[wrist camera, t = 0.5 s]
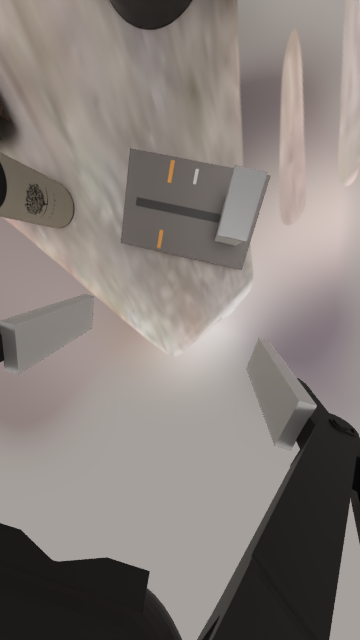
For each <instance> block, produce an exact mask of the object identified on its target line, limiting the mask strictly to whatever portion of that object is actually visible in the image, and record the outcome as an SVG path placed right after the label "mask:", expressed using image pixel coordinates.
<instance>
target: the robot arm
mask: <svg viewBox="0 0 360 640" xmlns="http://www.w3.org/2000/svg"><path fill="white" fill-rule="evenodd" d="M110 1H111V3H112V4H113V6H114V8H115V9H116V10H117V12H118V13H119V14H120V15H121V16H122V17H123V18H124V19H125V20H127V21H128V22H130V23H131V24H133V25H135V26H138V27H141V28H157V27H161V26H164V25H166V24H168V23H170V22H171V21H173V20H174V19H175V18H177V17H178V16H179V15H180V14H181V13H182V12H183V11H184V10H185V8H186V7H187V6H188V4H189V3H190V2H191V0H110ZM93 304H94V296H90V295H86V294H84V295H81V296H78V297H75V298H71V299H68V300H65V301H62V302H59V303H55V304H52V305H49V306H46V307H43V308H39V309H36V310H33V311H30V312H27V313H24V314H20V315H17V316H14V317H11V318H8V319H5V320H1V321H0V362H2V361H3V360H4V368H5V371H9V372H12V373H16V374H20V373H22V372H23V371H25V370H26V369H28V368H29V367H31V366H33V365H34V364H36V363H37V362H39V361H41V360H42V359H44V358H45V357H47V356H49V355H50V354H51V353H53V352H55V351H56V350H58V349H60V348H61V347H63V346H64V345H66V344H68V343H69V342H71V341H72V340H74V339H76V338H77V337H78V336H80V335H82V334H83V333H85V332H86V331H88V330H90V329H91V328H92V318H93ZM247 371H248V374H249V377H250V380H251V382H252V385H253V388H254V391H255V393H256V396H257V399H258V401H259V404H260V407H261V410H262V412H263V415H264V418H265V421H266V423H267V426H268V429H269V432H270V434H271V437H272V440H273V443H274V445H275V446H277V447H281V448H284V449H288V450H291V449H292V447H293V445H294V444H295V442H296V441H297V443H298V445H299V448H300V451H299V452H298V454H297V455H296V457H295V459H294V460H293V462H292V464H291V465H290V466H291V467H290V469H289V471H288V472H287V474H286V476H285V478H284V480H283V482H282V484H281V486H280V487H279V489H278V491H277V493H276V495H275V497H274V499H273V501H272V503H271V504H270V506H269V508H268V510H267V512H266V514H265V516H264V518H263V520H262V521H261V523H260V525H259V527H258V529H257V531H256V533H255V535H254V536H253V538H252V540H251V542H250V544H249V546H248V548H247V550H246V551H245V553H244V555H243V557H242V559H241V561H240V563H239V565H238V567H237V568H236V570H235V572H234V574H233V576H232V578H231V580H230V582H229V583H228V585H227V587H226V589H225V591H224V593H223V595H222V596H221V599H220V600H219V602H218V604H217V606H216V608H215V609H214V611H213V613H212V615H211V617H210V618H209V620H208V622H207V624H206V625H205V627H204V629H203V630H202V632H201V634H200V636H199V637H198V639H197V640H329V636H330V630H331V623H332V615H333V610H334V603H335V596H336V590H337V583H338V577H339V570H340V563H341V556H342V550H343V544H344V537H345V530H346V523H347V517H348V510H349V504H350V498H351V502H352V507H353V512H354V517H355V522H356V527H357V532H358V537H359V542H360V438H359V434H358V433H357V431H356V430H355V429H354V428H353V427H352V426H351V425H350V424H349V423H348V422H346V421H345V420H343V419H341V418H340V417H337V416H336V415H333V414H330V413H328V411H327V410H326V409H325V408H324V406H323V405H322V404H321V403H320V401H319V400H318V399H317V398H316V396H315V395H314V394H313V393H312V391H311V390H310V388H309V387H308V386H307V385H306V384H305V383H304V382H303V381H301V380H300V379H298V378H296V377H295V375H294V374H293V373H292V371H291V370H290V369H289V367H288V366H287V365H286V363H285V362H284V361H283V359H282V358H281V357H280V355H279V354H278V353H277V352H276V350H275V349H274V347H273V346H272V345H271V343H270V342H269V341H268V340H264V339H260V338H259V339H258V341H257V344H256V346H255V349H254V351H253V353H252V356H251V359H250V361H249V363H248V366H247ZM148 577H149V571H147V570H144V569H141V568H138V567H134V566H131V565H128V564H125V563H122V562H119V561H116V560H113V559H110V558H96V559H85V560H73V561H61V562H57V561H53V560H52V559H50V558H49V557H48V556H47V555H46V554H45V553H44V552H43V551H42V550H41V549H40V548H39V547H38V546H37V545H36V544H35V543H34V542H33V541H31V539H30V538H29V537H28V536H27V535H25V533H23V532H22V531H21V530H20V529H17V528H14V527H10V526H7V525H4V524H1V523H0V640H182V638H181V636H180V634H179V632H178V630H177V628H176V626H175V624H174V622H173V620H172V618H171V617H170V615H169V613H168V612H167V610H166V609H165V607H164V606H163V604H162V603H161V602H160V601H159V600H158V598H157V597H156V596H155V595H154V594H153V593H152V592H151V591H150V590H149V589H147V583H148Z"/></svg>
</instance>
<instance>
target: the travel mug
mask: <svg viewBox="0 0 360 640" xmlns="http://www.w3.org/2000/svg"><path fill="white" fill-rule="evenodd" d="M0 216H1V217H5V218H10V219H15V220H20V221H25V222H29V223H34V224H39V225H44V226H48V227H53V228H62V227H64V226H66V225H67V224H68V223H69V222H70V220H71V218H72V216H73V201H72V198H71V196H70V194H69V192H68V191H67V189H66V188H65V187H64V186H63V185H61V184H60V183H58V182H56V181H54V180H52V179H51V178H49V177H47V176H45V175H43V174H41V173H39V172H37V171H35V170H33V169H31V168H30V167H28V166H26V165H24V164H22V163H20V162H18V161H16V160H14V159H12V158H10V157H8V156H7V155H5V154H3V153H1V152H0Z"/></svg>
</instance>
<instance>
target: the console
mask: <svg viewBox="0 0 360 640" xmlns="http://www.w3.org/2000/svg"><path fill="white" fill-rule="evenodd" d="M233 171H234V168H229V167H223V166H218V165H213V164H208V163H203V162H198V161H192V160H187V159H182V158H177V157H172V156H167V155H162V154H156V153H151V152H146V151H141V150H136V149H131V148H130V156H129V166H128V177H127V187H126V197H125V207H124V217H123V227H122V237H121V243H124V244H128V245H133V246H137V247H142V248H146V249H151V250H155V251H160V252H164V253H169V254H173V255H178V256H182V257H187V258H191V259H196V260H200V261H205V262H209V263H214V264H218V265H223V266H227V267H232V268H236V269H241V270H242V267H243V264H244V260H245V257H246V254H247V251H248V247H249V244H250V241H251V237H252V234H253V231H254V228H255V224H256V221H257V217H258V215H259V211H260V208H261V205H262V201H263V198H264V195H265V192H266V188H267V185H268V182H269V179H270V176H269V175H266V179H265V182H264V185H263V189H262V192H261V195H260V199H259V202H258V205H257V209H256V212H255V215H254V219H253V222H252V225H251V229H250V232H249V235H248V239H247V242H242V243H240V244H238V245H236V246H235V245H230V244H226V243H221V242H216V241H215V238H216V234H217V230H218V226H219V222H220V218H221V214H222V210H223V206H224V202H225V198H226V194H227V190H228V187H229V184H230V181H231V178H232V175H233Z"/></svg>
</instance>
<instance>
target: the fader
mask: <svg viewBox="0 0 360 640" xmlns="http://www.w3.org/2000/svg"><path fill="white" fill-rule="evenodd" d="M266 175H267V172H266V171H261V170H256V169H251V168H245V167H240V166H235V167H234V171H233V175H232V178H231V181H230V184H229V187H228V190H227V194H226V198H225V202H224V206H223V210H222V214H221V218H220V222H219V226H218V230H217V234H216V238H215V241H216V242H221V243H226V244H230V245H235V246H236V245H238V244H240V243H242V242H247V239H248V235H249V232H250V229H251V225H252V222H253V219H254V215H255V212H256V209H257V205H258V202H259V199H260V195H261V192H262V189H263V185H264V182H265V179H266Z"/></svg>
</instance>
